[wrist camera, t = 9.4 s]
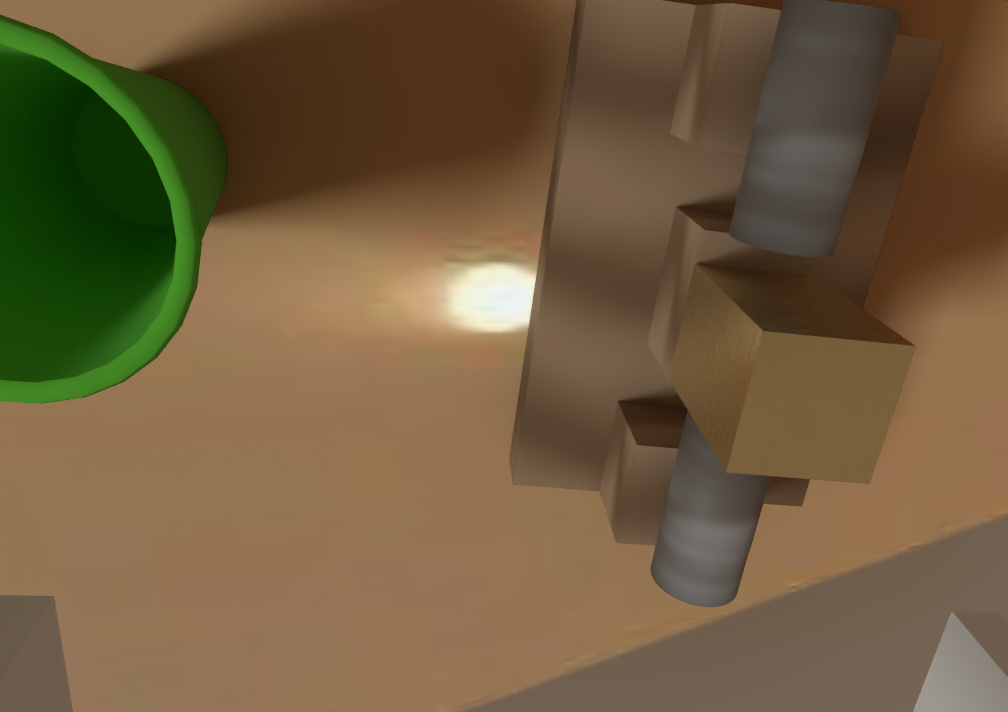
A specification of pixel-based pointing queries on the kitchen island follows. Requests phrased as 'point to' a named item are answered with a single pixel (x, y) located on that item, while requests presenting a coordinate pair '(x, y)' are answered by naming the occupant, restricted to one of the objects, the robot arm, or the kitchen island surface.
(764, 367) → the wooden block
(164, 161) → the cup
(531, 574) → the kitchen island surface
